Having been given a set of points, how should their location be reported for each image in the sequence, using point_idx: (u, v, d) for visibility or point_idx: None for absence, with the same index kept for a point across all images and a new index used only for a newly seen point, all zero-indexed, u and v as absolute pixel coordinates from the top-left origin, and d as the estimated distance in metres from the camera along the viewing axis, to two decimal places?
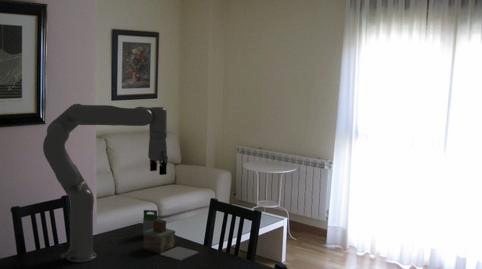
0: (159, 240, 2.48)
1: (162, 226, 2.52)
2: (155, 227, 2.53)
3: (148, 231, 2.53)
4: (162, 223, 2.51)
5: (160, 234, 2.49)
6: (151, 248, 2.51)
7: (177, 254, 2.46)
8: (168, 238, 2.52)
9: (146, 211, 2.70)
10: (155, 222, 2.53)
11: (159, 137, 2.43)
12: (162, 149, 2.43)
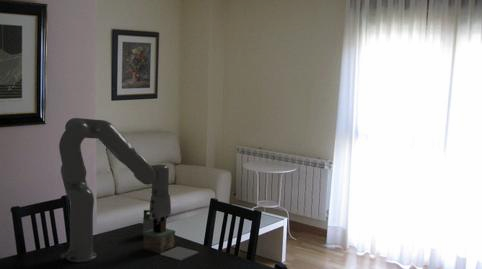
0: (159, 240, 2.48)
1: (162, 226, 2.52)
2: None
3: (148, 231, 2.53)
4: (162, 223, 2.51)
5: (160, 234, 2.49)
6: (151, 248, 2.51)
7: (177, 254, 2.46)
8: (168, 238, 2.52)
9: (146, 211, 2.70)
10: None
11: None
12: None
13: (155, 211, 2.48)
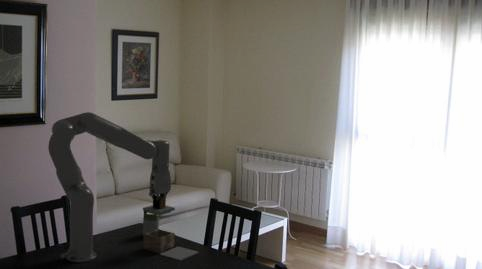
0: (159, 240, 2.48)
1: (162, 202, 2.50)
2: None
3: (147, 207, 2.51)
4: (162, 199, 2.50)
5: (160, 210, 2.48)
6: (151, 248, 2.51)
7: (177, 254, 2.46)
8: (168, 238, 2.52)
9: (146, 211, 2.70)
10: None
11: None
12: None
13: (155, 187, 2.46)
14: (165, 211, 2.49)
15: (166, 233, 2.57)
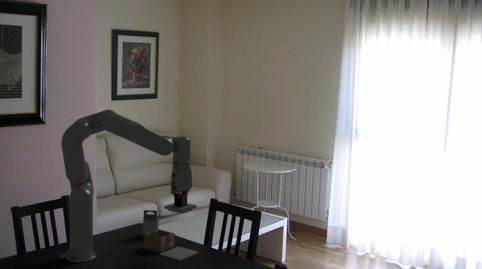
0: (159, 240, 2.48)
1: (184, 199, 2.44)
2: None
3: (169, 205, 2.45)
4: (183, 197, 2.43)
5: (182, 208, 2.41)
6: (151, 248, 2.51)
7: (177, 254, 2.46)
8: (168, 238, 2.52)
9: (146, 211, 2.70)
10: None
11: None
12: None
13: (176, 184, 2.39)
14: (187, 209, 2.42)
15: (166, 233, 2.57)
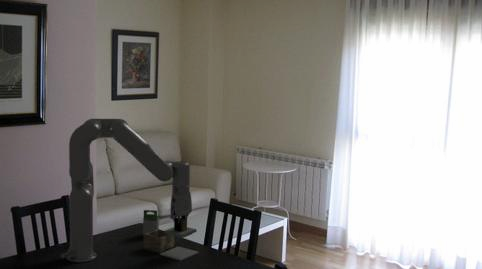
0: (159, 240, 2.48)
1: (183, 224, 2.45)
2: None
3: (169, 230, 2.46)
4: (183, 221, 2.45)
5: (181, 233, 2.42)
6: (151, 248, 2.51)
7: (177, 254, 2.46)
8: (168, 238, 2.52)
9: (146, 211, 2.70)
10: None
11: None
12: None
13: (176, 209, 2.41)
14: (187, 234, 2.43)
15: None
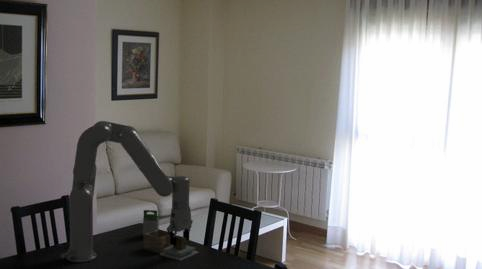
0: (159, 240, 2.48)
1: (182, 243, 2.46)
2: None
3: (168, 248, 2.47)
4: (182, 240, 2.46)
5: (180, 251, 2.43)
6: (151, 248, 2.51)
7: None
8: (168, 238, 2.52)
9: (146, 211, 2.70)
10: None
11: None
12: None
13: (176, 224, 2.42)
14: (186, 252, 2.44)
15: (166, 233, 2.57)
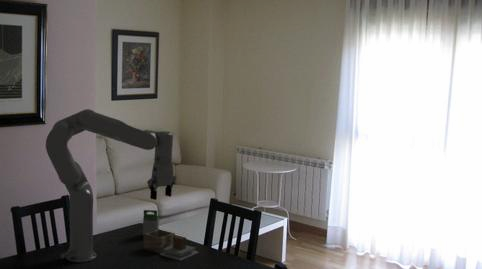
0: (159, 240, 2.48)
1: (182, 243, 2.46)
2: (174, 244, 2.47)
3: (168, 248, 2.47)
4: (182, 240, 2.46)
5: (180, 251, 2.43)
6: (151, 248, 2.51)
7: None
8: (168, 238, 2.52)
9: (146, 211, 2.70)
10: (175, 239, 2.47)
11: None
12: None
13: (157, 179, 2.40)
14: (186, 252, 2.44)
15: (166, 233, 2.57)
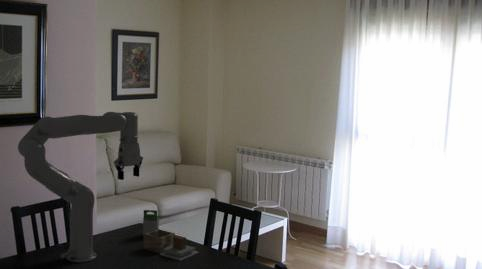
0: (159, 240, 2.48)
1: (182, 243, 2.46)
2: (174, 244, 2.47)
3: (168, 248, 2.47)
4: (182, 240, 2.46)
5: (180, 251, 2.43)
6: (151, 248, 2.51)
7: None
8: (168, 238, 2.52)
9: (146, 211, 2.70)
10: (175, 239, 2.47)
11: None
12: None
13: (123, 159, 2.42)
14: (186, 252, 2.44)
15: (166, 233, 2.57)
